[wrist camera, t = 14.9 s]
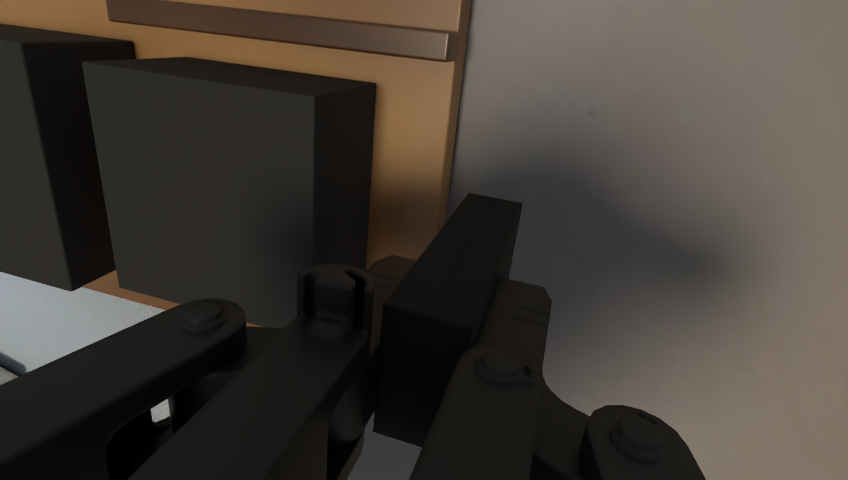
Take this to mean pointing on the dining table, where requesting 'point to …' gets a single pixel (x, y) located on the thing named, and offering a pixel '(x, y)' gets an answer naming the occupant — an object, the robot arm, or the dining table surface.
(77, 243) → the pad
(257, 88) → the black rectangular block
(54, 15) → the tray
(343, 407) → the robot arm
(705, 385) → the dining table surface
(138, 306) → the dining table surface
